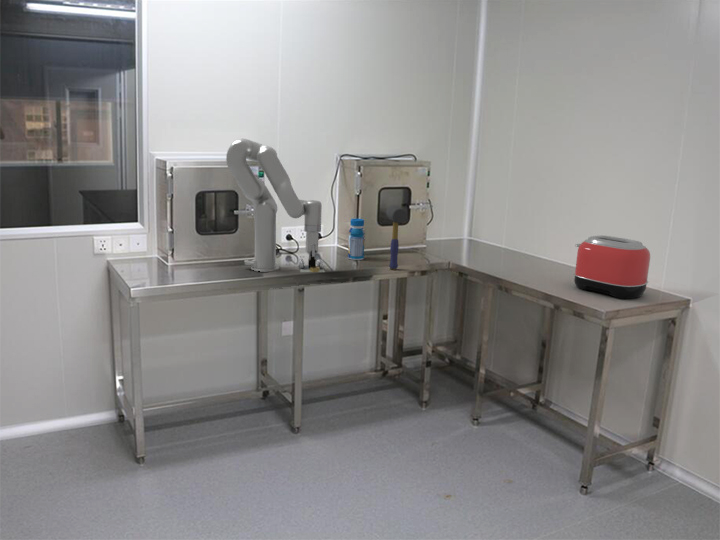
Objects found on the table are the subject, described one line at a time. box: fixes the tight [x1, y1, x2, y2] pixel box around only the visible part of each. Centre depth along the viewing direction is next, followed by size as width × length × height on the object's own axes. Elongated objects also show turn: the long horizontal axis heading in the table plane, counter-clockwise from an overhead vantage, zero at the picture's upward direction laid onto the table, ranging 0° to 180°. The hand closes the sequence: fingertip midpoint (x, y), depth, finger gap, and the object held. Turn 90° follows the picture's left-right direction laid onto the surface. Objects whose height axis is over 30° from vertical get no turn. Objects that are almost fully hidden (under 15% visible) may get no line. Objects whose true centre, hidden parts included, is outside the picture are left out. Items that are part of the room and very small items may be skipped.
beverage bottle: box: [347, 218, 366, 261], centre depth 328 cm, size 8×8×20 cm
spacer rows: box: [298, 258, 324, 270], centre depth 304 cm, size 10×8×3 cm
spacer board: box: [298, 265, 326, 273], centre depth 302 cm, size 11×13×1 cm
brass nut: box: [310, 265, 320, 273], centre depth 297 cm, size 5×4×2 cm
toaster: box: [573, 235, 651, 300], centre depth 282 cm, size 32×23×23 cm
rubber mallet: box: [385, 204, 408, 271], centre depth 307 cm, size 12×8×30 cm, turn 13°
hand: (311, 267), depth 300 cm, fingers closed
